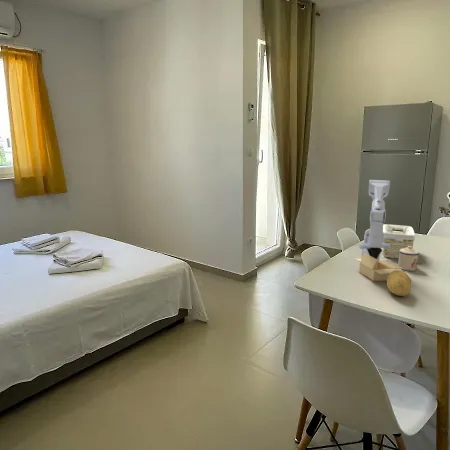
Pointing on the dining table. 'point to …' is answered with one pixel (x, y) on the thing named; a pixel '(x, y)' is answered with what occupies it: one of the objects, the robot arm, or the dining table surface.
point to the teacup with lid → (408, 258)
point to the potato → (399, 283)
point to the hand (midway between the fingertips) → (373, 262)
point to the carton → (378, 270)
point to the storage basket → (397, 239)
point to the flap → (368, 260)
